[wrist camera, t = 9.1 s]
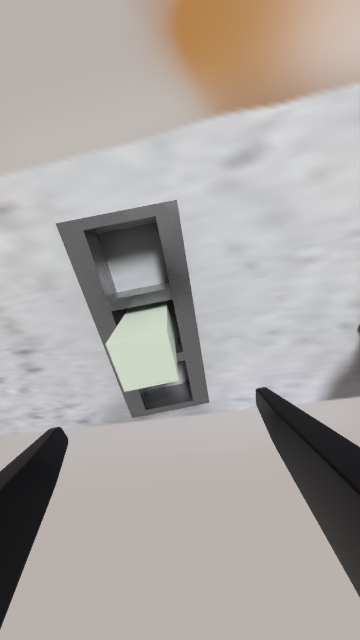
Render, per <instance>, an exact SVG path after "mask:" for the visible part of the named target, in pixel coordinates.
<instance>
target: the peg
mask: <svg viewBox="0 0 360 640" xmlns="http://www.w3.org/2000/svg"><path fill="white" fill-rule="evenodd" d="M106 347H107V349H108V352H109V354H110V357H111V359H112V362H113V364H114V367H115V370H116V372H117V375H118V377H119V380H120V382H121V385H122V387H123V390H124V392H126V391H131V390H136V389H141V388H146V387H151V386H156V385H161V384H165V383H170V382H175V381H179V377H178V367H177V357H176V347H175V336H174V330H173V326H172V321H171V317H170V312H169V308H168V303H167V300H166V301H161V302H156V303H151V304H146V305H141V306H136V307H131V308H129V309H128V310H127V312H126V313H125V315H124V316H123V318H122V319H121V321H120V322H119V324H118V325H117V327H116V329H115V330H114V332H113V333H112V335H111V336H110V338H109V339H108V341H107V342H106Z"/></svg>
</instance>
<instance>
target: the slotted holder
mask: <svg viewBox="0 0 360 640" xmlns="http://www.w3.org/2000/svg"><path fill="white" fill-rule="evenodd" d="M156 222H157V226H158V230H159V235H160V240H161V245H162V250H163V255H164V260H165V265H166V270H167V275H168V279H169V283H164V284H159V285H154V286H149V287H144V288H139V289H134V290H129V291H124V292H119V293H116V289H115V286H114V283H113V280H112V277H111V274H110V271H109V268H108V265H107V261H106V258H105V255H104V252H103V249H102V246H101V243H100V240H99V237H98V234H100V233H105V232H110V231H115V230H120V229H126V228H131V227H136V226H141V225H146V224H151V223H156ZM56 226H57V228H58V231H59V233H60V236H61V238H62V241H63V243H64V246H65V248H66V251H67V253H68V256H69V259H70V261H71V264H72V266H73V269H74V271H75V274H76V276H77V279H78V281H79V284H80V287H81V289H82V292H83V294H84V297H85V299H86V302H87V304H88V307H89V309H90V312H91V314H92V317H93V320H94V322H95V325H96V327H97V330H98V332H99V335H100V337H101V340H102V342H103V345H104V348H105V350H106V353H107V355H108V358H109V360H110V363H111V365H112V368H113V370H114V373H115V375H116V378H117V381H118V383H119V386H120V388H121V391H122V393H123V396H124V398H125V401H126V403H127V406H128V409H129V411H130V414H131V416H132V418H134V417H139V416H144V415H149V414H154V413H159V412H164V411H169V410H174V409H179V408H184V407H189V406H194V405H199V404H205V403H209V398H208V392H207V385H206V379H205V373H204V367H203V361H202V354H201V348H200V342H199V336H198V329H197V323H196V317H195V311H194V305H193V298H192V292H191V286H190V280H189V273H188V267H187V261H186V255H185V249H184V242H183V236H182V230H181V224H180V217H179V211H178V205H177V200H174V201H169V202H164V203H158V204H153V205H148V206H143V207H138V208H133V209H128V210H123V211H118V212H113V213H108V214H102V215H97V216H92V217H87V218H82V219H77V220H72V221H67V222H62V223H57V224H56ZM171 299H173V304H174V309H175V314H176V319H177V323H178V328H179V333H180V339H175V347H176V357H177V362H179V361H184V360H185V363H186V368H187V372H188V377H189V383H184V384H179V385H174V386H169V387H164V388H159V389H154V390H149V391H148V389H147V387H146V388H141V389H136V390H131V391H126V392H124V390H123V387H122V385H121V382H120V380H119V377H118V375H117V372H116V370H115V367H114V364H113V362H112V359H111V357H110V354H109V352H108V349H107V347H106V342H107V341H108V339H109V338H110V336H111V335H112V333H113V332H114V330H115V329H116V327H117V325H118V324H119V322H120V321H121V319H122V318H123V316H124V314H123V311H122V309H126V308H131V307H136V306H141V305H146V304H151V303H156V302H161V301H166V300H171Z"/></svg>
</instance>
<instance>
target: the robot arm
mask: <svg viewBox="0 0 360 640" xmlns="http://www.w3.org/2000/svg"><path fill="white" fill-rule="evenodd" d="M256 404H257V407H258V410H259V412H260V414H261V416H262V418H263V421H264V423H265V425H266V428H267V430H268V432H269V434H270V437H271V439H272V441H273V443H274V445H275V447H276V449H277V451H278V452H279V454H280V456H281V458H282V460H283V461H284V463H285V465H286V467H287V468H288V470H289V472H290V474H291V475H292V477H293V479H294V481H295V483H296V484H297V486H298V488H299V490H300V492H301V493H302V495H303V497H304V499H305V500H306V502H307V504H308V506H309V507H310V509H311V511H312V513H313V515H314V516H315V518H316V520H317V522H318V524H319V525H320V527H321V529H322V531H323V533H324V534H325V536H326V538H327V540H328V541H329V543H330V545H331V547H332V548H333V550H334V552H335V554H336V555H337V557H338V559H339V561H340V563H341V565H342V566H343V568H344V570H345V572H346V573H347V575H348V577H349V578H350V581H351V582H352V584H353V586H354V588H355V589H356V591H357V593H358V595H359V597H360V447H359V446H357V445H356V444H354V443H352V442H351V441H349V440H348V439H346V438H344V437H343V436H341V435H340V434H338V433H337V432H335V431H334V430H332V429H330V428H329V427H327V426H326V425H324V424H323V423H321V422H319V421H318V420H316V419H315V418H313V417H311V416H310V415H309V414H307V413H305V412H304V411H302V410H301V409H299V408H298V407H296V406H294V405H293V404H291V403H290V402H288V401H287V400H285V399H283V398H282V397H280V396H279V395H277V394H276V393H274V392H272V391H271V390H269V389H268V388H266V387H262V388H257V389H256ZM67 445H68V438H67V436H66V434H65V433H64V431H63V430H62V428H61V427H55V428H51V429H49V430H48V431H46V432H45V433H44V434H43V435H42V436H41V437H40V438H38V439H37V440H36V441H35V442H34V443H33V444H31V445H30V446H29V447H28V448H27V449H26V450H25V451H23V453H21V454H20V455H19V456H18V457H16V458H15V459H14V460H13V461H12V462H11V463H10V464H8V465H7V466H6V467H5V468H4V469H3V470H1V471H0V628H1V626H2V623H3V621H4V618H5V615H6V613H7V610H8V608H9V605H10V603H11V600H12V597H13V595H14V592H15V590H16V587H17V584H18V582H19V579H20V577H21V574H22V571H23V569H24V566H25V564H26V561H27V558H28V556H29V553H30V551H31V548H32V545H33V543H34V540H35V538H36V535H37V532H38V530H39V527H40V525H41V522H42V519H43V517H44V514H45V512H46V509H47V506H48V504H49V501H50V499H51V496H52V493H53V491H54V488H55V485H56V482H57V479H58V476H59V472H60V469H61V466H62V462H63V459H64V455H65V452H66V449H67Z"/></svg>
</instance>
